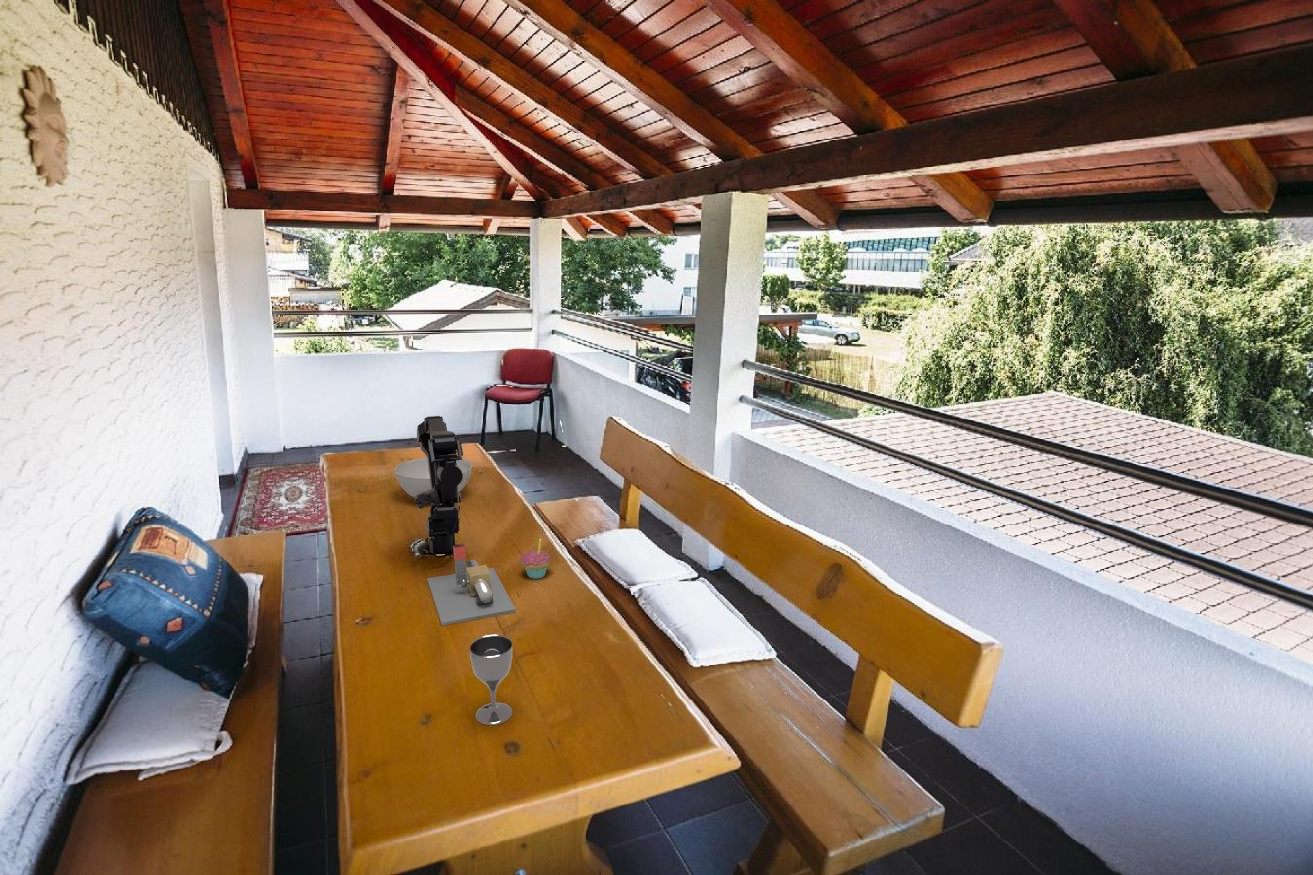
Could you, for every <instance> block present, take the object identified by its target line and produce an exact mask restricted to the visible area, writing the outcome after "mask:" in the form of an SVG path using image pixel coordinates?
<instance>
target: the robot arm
mask: <svg viewBox="0 0 1313 875" xmlns="http://www.w3.org/2000/svg"><path fill="white" fill-rule="evenodd" d="M416 440H417V443H419V447H420V450H421V451H422V452H423V453H424V455H425V456H426V457H427V459H428V467H429V475H430V483H431V489H430V490H427V491H425V492H423V493H420V494H418V495H416V496H415V498H414V497H413V499H414V502H415V505H416V506H417V507H418V509H419V510H422V509H423V508H425V507H426V506H430V504H432V503H433V505H431V507H430V510H429V511H428V516H427V518H426V533H427V535H428V538H429V540H428V545H429V549H430V551H429V553H430V554H432V555H434V554H445V555H447V554H451V555H454V551H453V545H456V535H457V534H459V532H460V522H461V519H460V517H459V515H460V511H461V506H459V505H458V503H462V493H460V492H458V485H459V484H460V483H461V481H462V479H463V474H462V471H461V470H460V469H459V467H458V466H457V463H456V460H462V459H463V458H462V457H464V451H463V446H462V441H461V440H460V438H459V437H458V436H457V435H456V434H455V433H454V431H450V430H448V427H447V422H445V421H444V418H443V416H440V415H432V416H431V415H430V416H426V417H424V420H423V421H422V422H421V423H419V424H418V425H417V427H416ZM447 556H448V555H447Z"/></svg>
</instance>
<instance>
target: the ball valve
mask: <svg viewBox="0 0 1313 875" xmlns="http://www.w3.org/2000/svg"><path fill="white" fill-rule="evenodd" d="M465 566H466V573H467V575H466V581H467V588H468V590H469V593H470V595H471V596H477V595H479V597H476V604H477V606H483V605H488V604H493V594H492V592H491V573H490V571H489V567H488V565H487V564H482V565H479V564H478V562H477V561H476V560H475V559H469V560H468V561H467V562H465Z"/></svg>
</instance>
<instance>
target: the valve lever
mask: <svg viewBox="0 0 1313 875" xmlns="http://www.w3.org/2000/svg"><path fill="white" fill-rule="evenodd" d="M466 550H467V549H466V544H465V543H461V544H455V545H453V551H454V554H453V559H454V568H455V570H454V571H455V574H456V584H457V585H460V584H461V588H464V587H467V582H466V559H467V554H466V552H467V551H466Z"/></svg>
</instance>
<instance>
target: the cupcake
mask: <svg viewBox="0 0 1313 875" xmlns="http://www.w3.org/2000/svg"><path fill="white" fill-rule="evenodd" d="M537 546H538V547H537V550H536V549H532V550H528V551H526V552H525V553H523V554H522V555H521V557H520V560H519V564H520V566H521V567H522V568H524V570H525V572H526V575H527V577H528V578H530V579H534V580H535V579H537V580H538V579H542V578H543V577H545V575H546V572H547V570H548V567H549V566H550V565H551V562H552V557H551V556H550V554H549V553H547V551H544V550H542V549H541V547H542V537H540V538H539V540H538V545H537Z"/></svg>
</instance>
